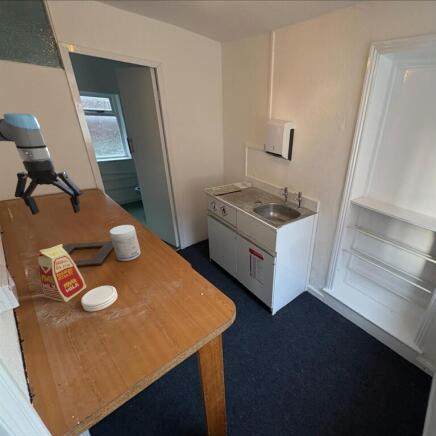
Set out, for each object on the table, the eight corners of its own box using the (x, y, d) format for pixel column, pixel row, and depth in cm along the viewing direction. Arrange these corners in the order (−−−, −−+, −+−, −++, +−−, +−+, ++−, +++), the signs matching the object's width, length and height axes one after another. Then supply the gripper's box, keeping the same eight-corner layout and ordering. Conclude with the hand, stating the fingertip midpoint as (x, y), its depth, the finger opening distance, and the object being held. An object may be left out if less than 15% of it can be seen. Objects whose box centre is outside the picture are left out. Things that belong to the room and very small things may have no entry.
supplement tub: (120, 252, 114) (113, 225, 107) (143, 249, 117) (136, 223, 110) (114, 263, 105) (105, 235, 99) (138, 260, 108) (131, 233, 102)
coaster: (107, 312, 81) (104, 304, 79) (76, 312, 80) (72, 304, 78) (123, 291, 90) (121, 284, 88) (96, 292, 89) (93, 284, 87)
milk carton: (65, 302, 84) (45, 255, 75) (43, 298, 85) (21, 251, 76) (89, 285, 92) (73, 241, 84) (69, 281, 93) (51, 238, 85)
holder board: (40, 271, 97) (38, 268, 97) (67, 246, 115) (66, 244, 114) (101, 265, 103) (100, 262, 103) (118, 243, 121) (118, 240, 120)
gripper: (-18, 161, 78) (10, 218, 87) (72, 161, 85) (89, 214, 94) (1, 157, 85) (25, 210, 94) (82, 158, 91) (98, 207, 100)
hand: (57, 212), depth 94 cm, fingers open, 13 cm apart
